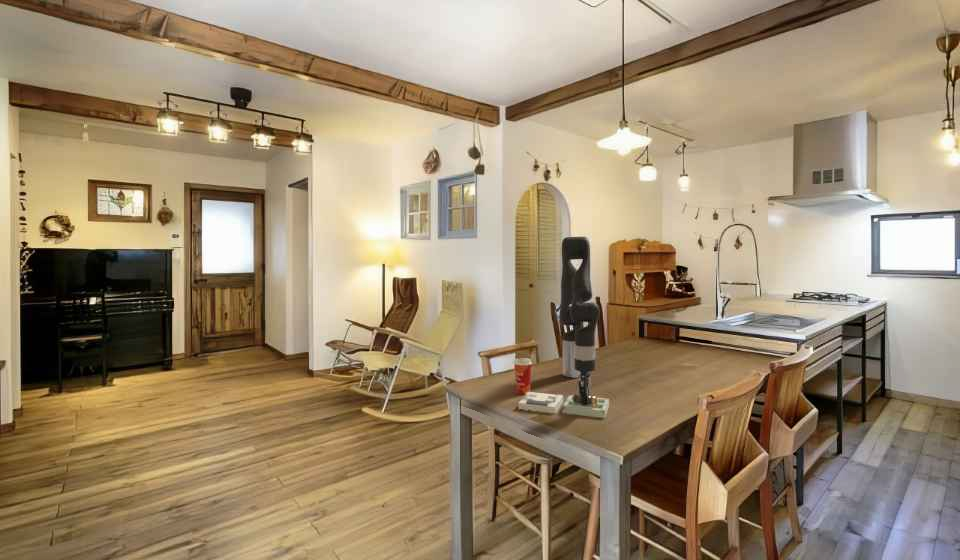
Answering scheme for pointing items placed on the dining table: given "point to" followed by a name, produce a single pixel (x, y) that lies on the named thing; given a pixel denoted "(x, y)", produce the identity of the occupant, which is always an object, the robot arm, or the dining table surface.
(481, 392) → the dining table surface
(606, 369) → the dining table surface
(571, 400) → the tray
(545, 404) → the white battery holder
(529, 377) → the paper cup
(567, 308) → the robot arm
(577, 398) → the cell
